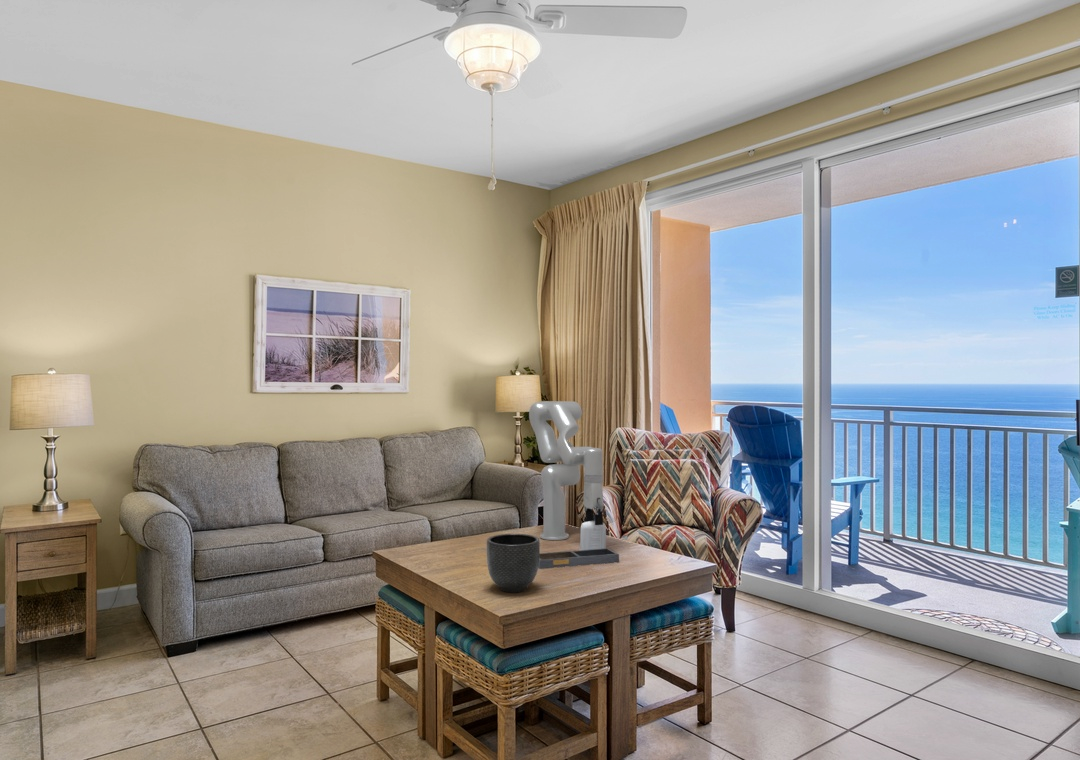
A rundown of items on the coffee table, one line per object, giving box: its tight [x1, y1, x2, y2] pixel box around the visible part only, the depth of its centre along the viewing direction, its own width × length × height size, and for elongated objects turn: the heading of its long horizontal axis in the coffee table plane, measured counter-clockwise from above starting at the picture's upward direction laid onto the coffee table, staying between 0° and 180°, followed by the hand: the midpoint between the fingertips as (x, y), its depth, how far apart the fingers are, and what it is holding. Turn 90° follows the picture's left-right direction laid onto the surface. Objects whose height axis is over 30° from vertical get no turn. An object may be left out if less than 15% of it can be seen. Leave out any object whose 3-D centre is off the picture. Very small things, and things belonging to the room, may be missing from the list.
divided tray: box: [538, 547, 620, 570], centre depth 252 cm, size 10×31×3 cm, turn 108°
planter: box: [486, 533, 541, 593], centre depth 219 cm, size 17×17×16 cm
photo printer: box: [579, 520, 607, 550], centre depth 267 cm, size 10×4×12 cm, turn 98°
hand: (594, 522), depth 267 cm, fingers open, 9 cm apart
